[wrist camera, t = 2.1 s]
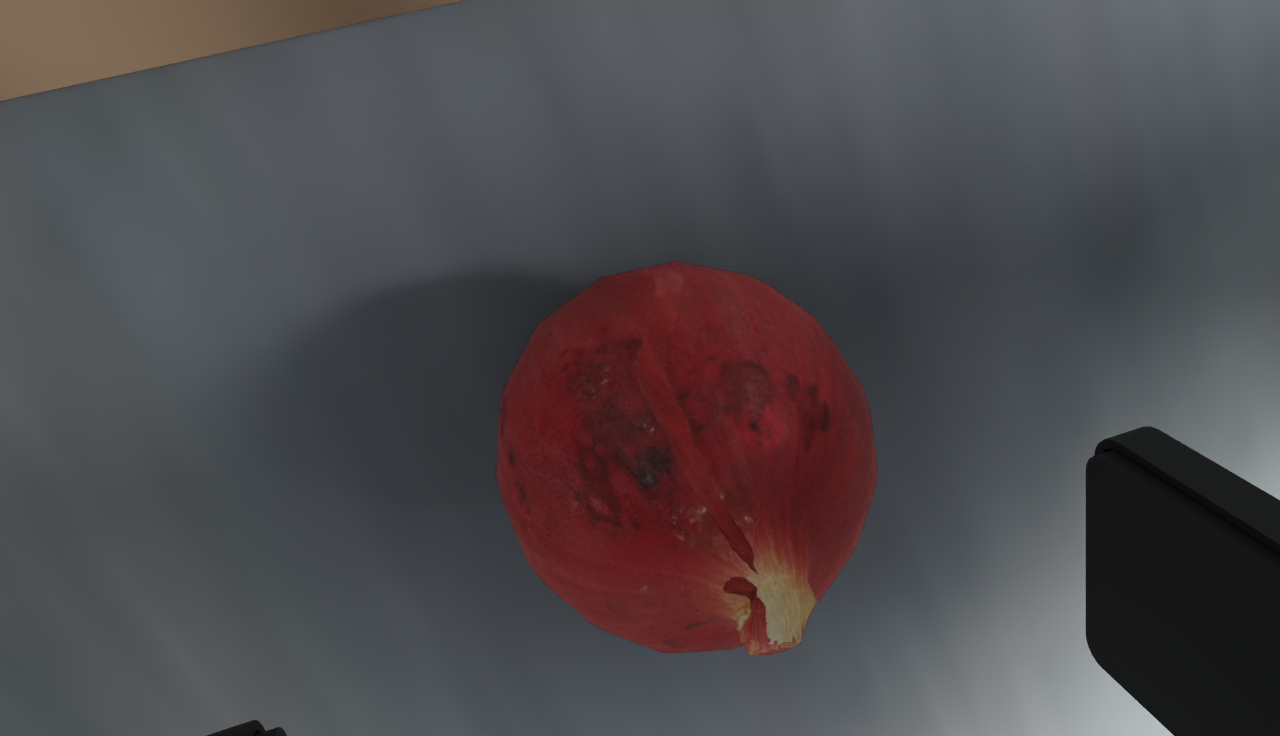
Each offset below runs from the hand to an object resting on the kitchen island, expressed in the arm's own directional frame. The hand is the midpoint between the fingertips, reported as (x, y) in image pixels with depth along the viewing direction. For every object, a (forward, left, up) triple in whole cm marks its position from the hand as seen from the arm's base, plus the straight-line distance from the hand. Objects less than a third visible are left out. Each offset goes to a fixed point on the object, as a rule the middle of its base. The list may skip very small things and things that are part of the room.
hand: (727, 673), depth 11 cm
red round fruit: (-1, 0, -9) cm, 9 cm away
